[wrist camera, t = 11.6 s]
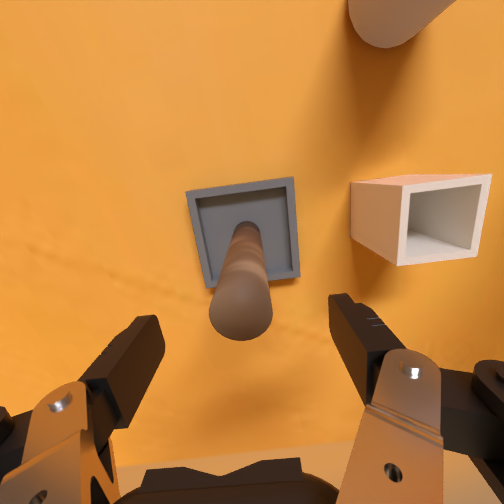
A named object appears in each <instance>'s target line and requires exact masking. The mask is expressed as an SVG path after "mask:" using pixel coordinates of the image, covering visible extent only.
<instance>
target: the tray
mask: <svg viewBox="0 0 504 504" xmlns="http://www.w3.org/2000/svg"><path fill="white" fill-rule="evenodd" d="M186 197H187V202H188V206H189V211H190V216H191V220H192V225H193V230H194V234H195V239H196V244H197V248H198V253H199V257H200V262H201V267H202V271H203V276H204V281H205V285H206V288H213V287H216V286H217V283H218V279H219V276H220V273H221V270H222V267H223V264H224V261H225V258H226V254H227V251H228V248H229V245H230V242H231V239H232V236H233V233H234V230H235V227H236V226H237V225H238V224H239V223H241V222H243V221H250V222H253V223H255V224H256V225H257V226H258V228H259V230H260V235H261V241H262V247H263V254H264V260H265V266H266V273H267V279H268V281H271V280H280V279H288V278H296V277H301V276H300V262H299V248H298V233H297V219H296V205H295V191H294V177H286V178H279V179H271V180H264V181H257V182H249V183H242V184H235V185H227V186H220V187H213V188H205V189H198V190H191V191H186Z"/></svg>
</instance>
